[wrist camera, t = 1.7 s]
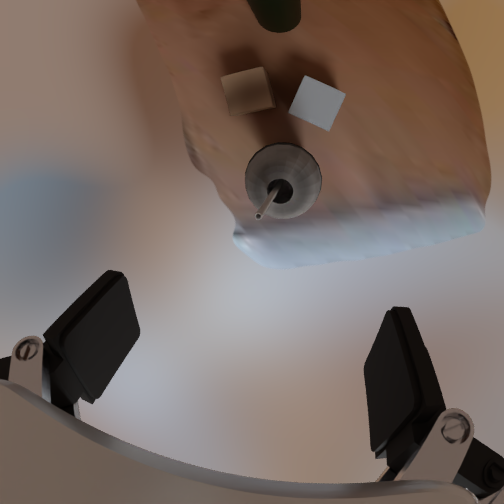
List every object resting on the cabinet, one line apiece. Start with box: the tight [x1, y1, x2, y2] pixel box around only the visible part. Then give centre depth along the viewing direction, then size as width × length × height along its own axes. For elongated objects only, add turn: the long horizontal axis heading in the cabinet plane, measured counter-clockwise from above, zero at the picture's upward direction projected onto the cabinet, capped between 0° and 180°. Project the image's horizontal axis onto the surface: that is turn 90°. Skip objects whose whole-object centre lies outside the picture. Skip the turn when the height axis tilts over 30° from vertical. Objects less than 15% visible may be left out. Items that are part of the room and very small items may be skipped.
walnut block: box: [221, 66, 276, 116], centre depth 30 cm, size 5×5×5 cm
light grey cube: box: [288, 76, 346, 131], centre depth 29 cm, size 5×5×5 cm
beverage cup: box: [245, 142, 322, 220], centre depth 27 cm, size 7×7×20 cm
